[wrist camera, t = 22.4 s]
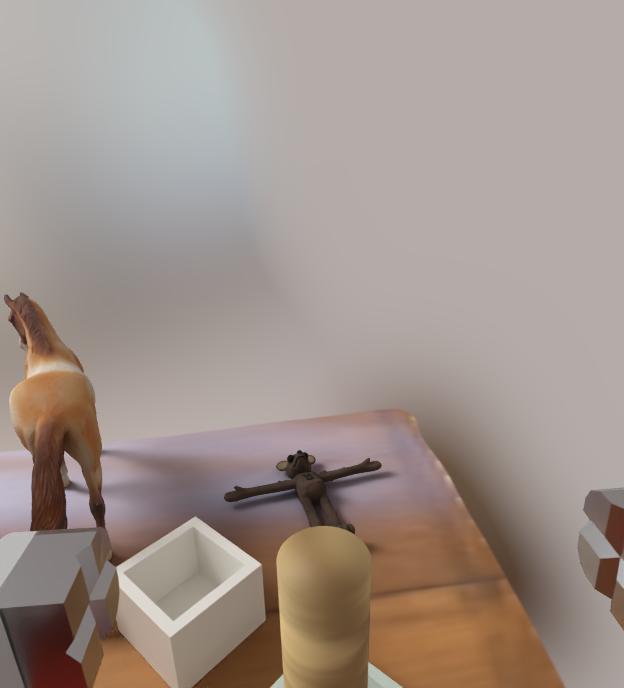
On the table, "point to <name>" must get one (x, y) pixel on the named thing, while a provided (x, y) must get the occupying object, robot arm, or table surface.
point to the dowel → (324, 608)
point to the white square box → (189, 601)
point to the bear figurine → (307, 486)
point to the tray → (377, 680)
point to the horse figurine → (54, 417)
